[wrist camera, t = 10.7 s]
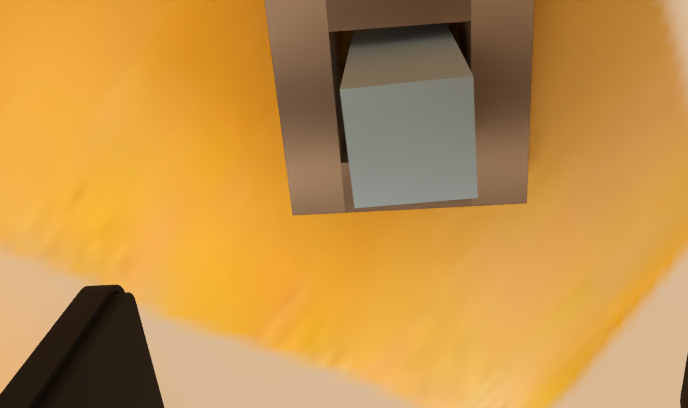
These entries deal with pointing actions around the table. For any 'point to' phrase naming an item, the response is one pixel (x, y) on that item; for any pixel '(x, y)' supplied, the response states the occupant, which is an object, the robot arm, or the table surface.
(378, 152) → the peg
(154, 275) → the table surface
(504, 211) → the table surface
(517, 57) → the socket block
